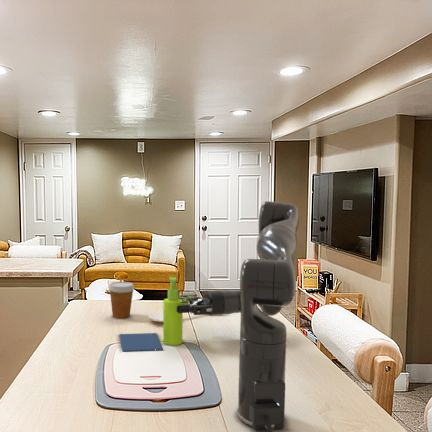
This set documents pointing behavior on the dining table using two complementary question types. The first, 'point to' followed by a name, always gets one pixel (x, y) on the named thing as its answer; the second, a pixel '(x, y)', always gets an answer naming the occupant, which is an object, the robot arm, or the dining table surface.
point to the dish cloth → (140, 342)
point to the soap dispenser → (172, 316)
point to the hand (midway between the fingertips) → (172, 305)
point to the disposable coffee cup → (121, 298)
